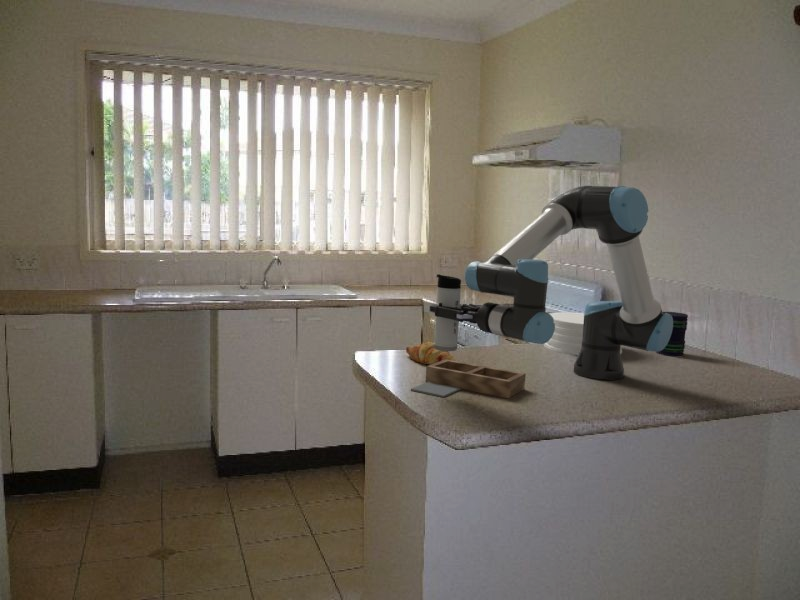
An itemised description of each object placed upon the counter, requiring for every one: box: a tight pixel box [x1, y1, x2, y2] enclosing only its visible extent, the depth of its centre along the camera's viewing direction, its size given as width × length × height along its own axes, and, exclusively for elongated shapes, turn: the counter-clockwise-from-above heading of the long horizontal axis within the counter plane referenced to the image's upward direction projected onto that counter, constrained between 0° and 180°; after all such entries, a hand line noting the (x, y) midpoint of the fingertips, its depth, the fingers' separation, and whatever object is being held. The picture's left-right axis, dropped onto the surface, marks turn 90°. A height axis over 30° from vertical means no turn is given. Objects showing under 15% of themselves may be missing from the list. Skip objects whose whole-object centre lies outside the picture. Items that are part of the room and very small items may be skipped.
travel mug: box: [433, 273, 462, 352], centre depth 187 cm, size 6×7×20 cm
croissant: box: [405, 340, 456, 366], centre depth 223 cm, size 21×10×8 cm, turn 46°
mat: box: [410, 382, 462, 398], centre depth 190 cm, size 10×10×1 cm
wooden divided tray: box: [425, 359, 526, 399], centre depth 197 cm, size 25×12×4 cm, turn 59°
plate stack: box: [543, 311, 624, 356], centre depth 259 cm, size 28×28×12 cm
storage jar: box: [655, 311, 689, 357], centre depth 258 cm, size 10×10×15 cm
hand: (434, 305), depth 191 cm, fingers closed on travel mug, 6 cm apart
